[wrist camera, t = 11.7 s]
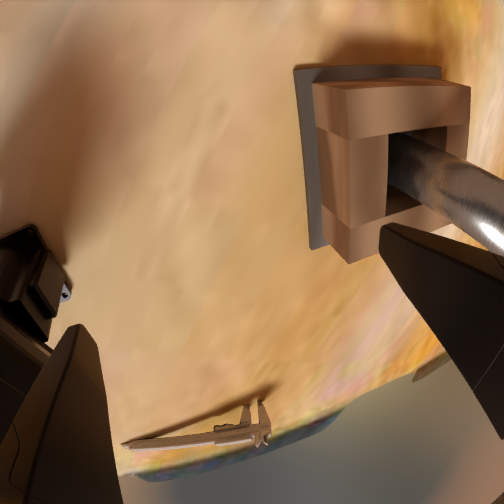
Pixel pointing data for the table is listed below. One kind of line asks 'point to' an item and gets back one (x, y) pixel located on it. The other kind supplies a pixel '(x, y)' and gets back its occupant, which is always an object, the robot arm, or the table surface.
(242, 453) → the table surface
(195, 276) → the table surface
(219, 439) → the caliper
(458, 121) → the socket block
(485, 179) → the steel pin
